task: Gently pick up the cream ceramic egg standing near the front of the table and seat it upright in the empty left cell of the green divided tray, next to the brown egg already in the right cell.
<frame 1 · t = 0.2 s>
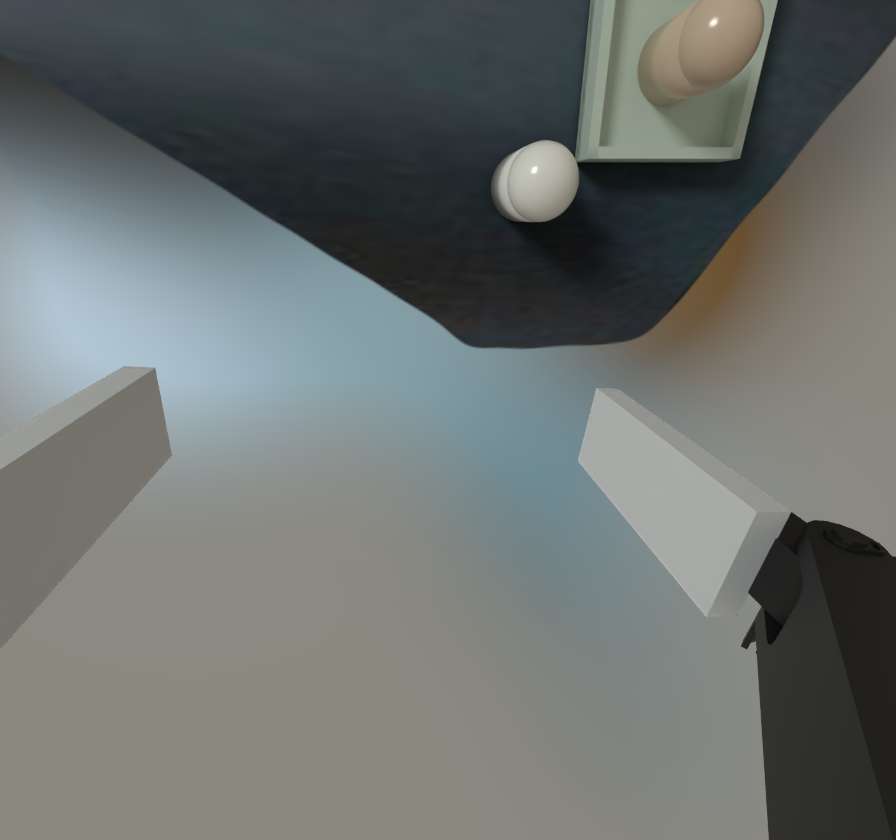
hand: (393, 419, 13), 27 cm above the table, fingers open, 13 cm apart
egg brown: (669, 65, 33), point 1 cm above the table, touching green divided tray
egg white: (521, 187, 36), on the table
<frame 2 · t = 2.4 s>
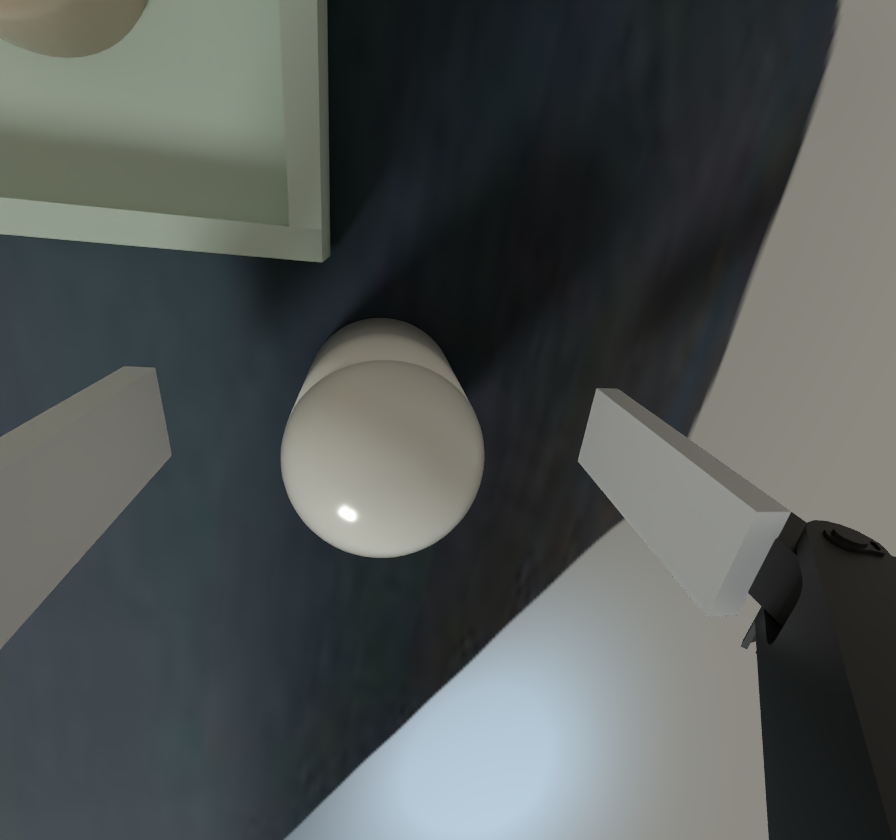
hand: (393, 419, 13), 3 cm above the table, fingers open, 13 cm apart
egg white: (382, 388, 16), on the table
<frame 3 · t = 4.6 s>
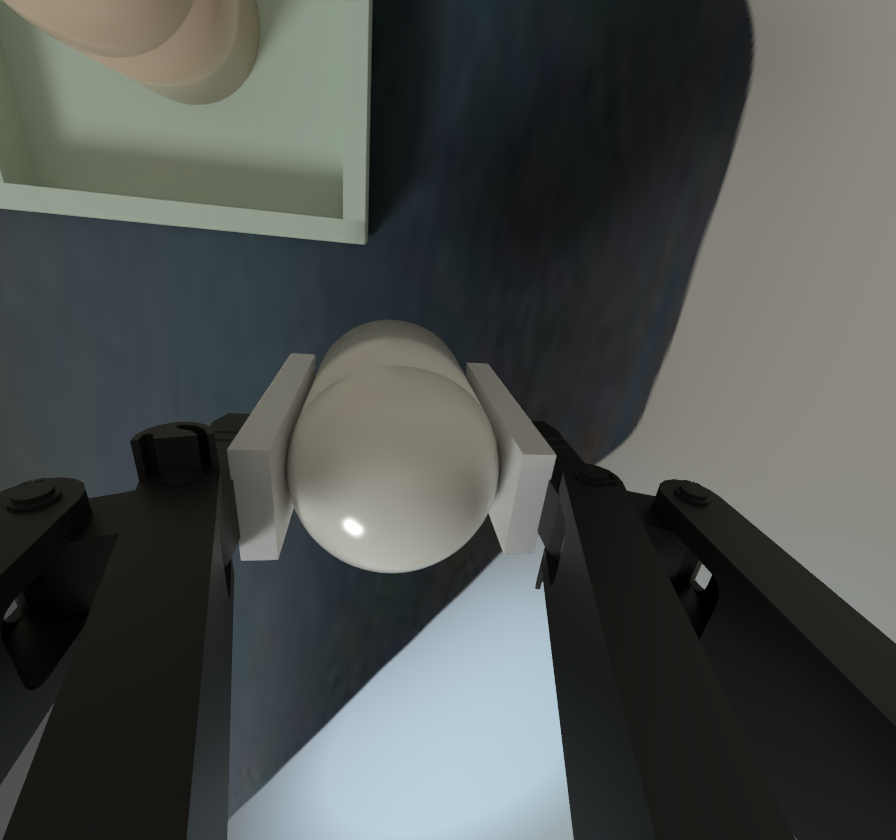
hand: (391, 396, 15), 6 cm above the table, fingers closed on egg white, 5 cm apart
egg brown: (176, 8, 14), point 1 cm above the table, touching green divided tray
egg white: (391, 392, 15), point 6 cm above the table, touching gripper
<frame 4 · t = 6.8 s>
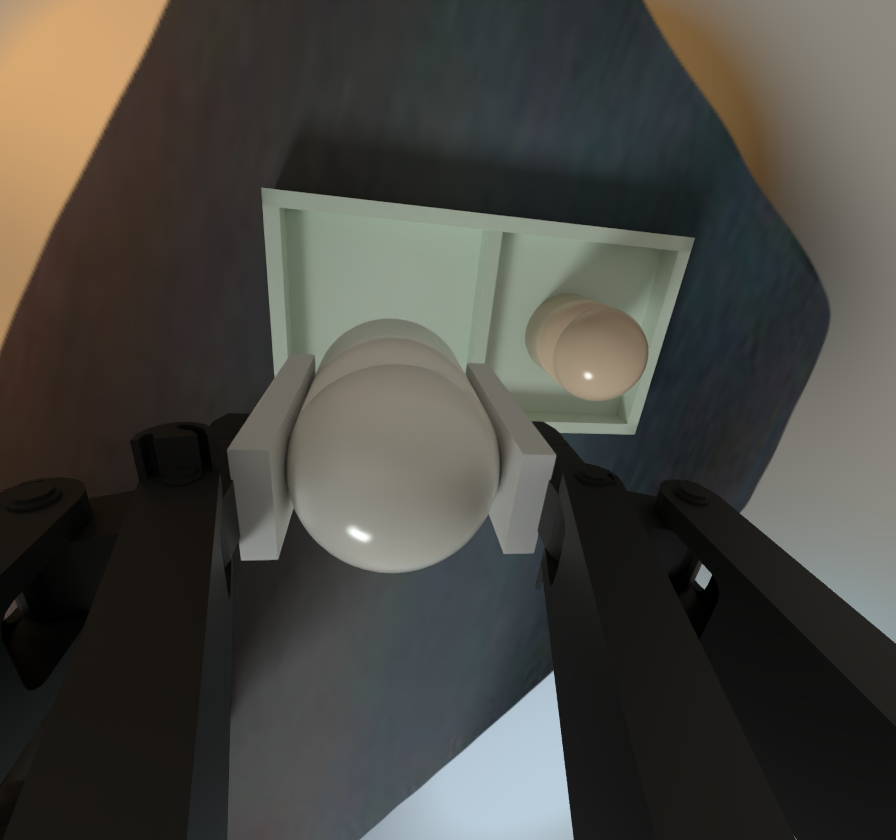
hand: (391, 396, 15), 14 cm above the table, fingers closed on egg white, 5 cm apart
egg brown: (562, 333, 28), point 1 cm above the table, touching green divided tray
green divided tray: (474, 325, 28), on the table
egg white: (391, 391, 15), point 13 cm above the table, touching gripper
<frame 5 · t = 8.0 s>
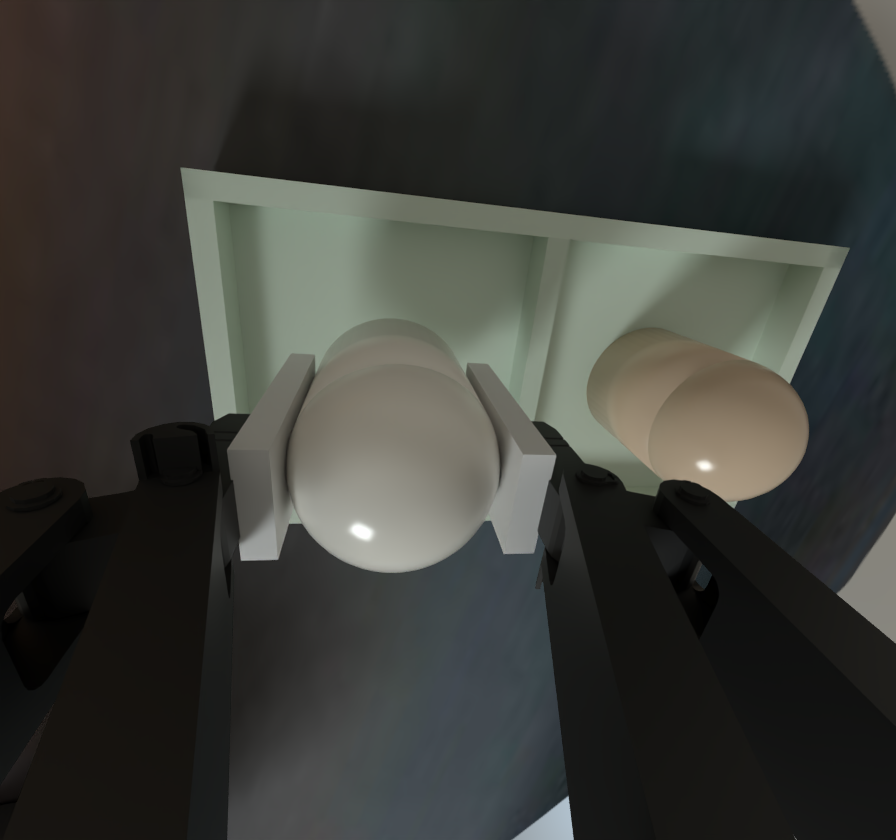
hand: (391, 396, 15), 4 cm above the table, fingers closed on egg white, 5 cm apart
egg brown: (639, 382, 20), point 1 cm above the table, touching green divided tray
green divided tray: (513, 371, 20), on the table
egg white: (391, 391, 15), point 4 cm above the table, touching gripper
when the fingers open (2 cm above the table, at t = 9.1 s): egg white stays where it is, resting on green divided tray.
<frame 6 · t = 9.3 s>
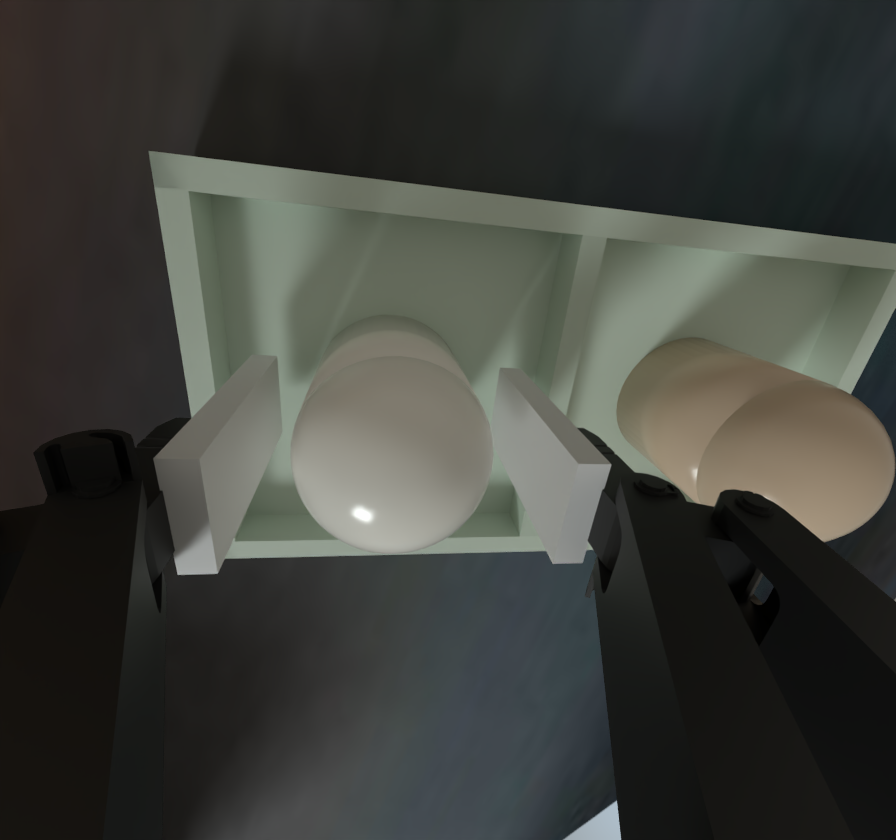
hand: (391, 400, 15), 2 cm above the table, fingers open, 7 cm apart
egg brown: (675, 398, 18), point 1 cm above the table, touching green divided tray
green divided tray: (535, 386, 18), on the table
egg white: (390, 385, 16), point 1 cm above the table, touching green divided tray
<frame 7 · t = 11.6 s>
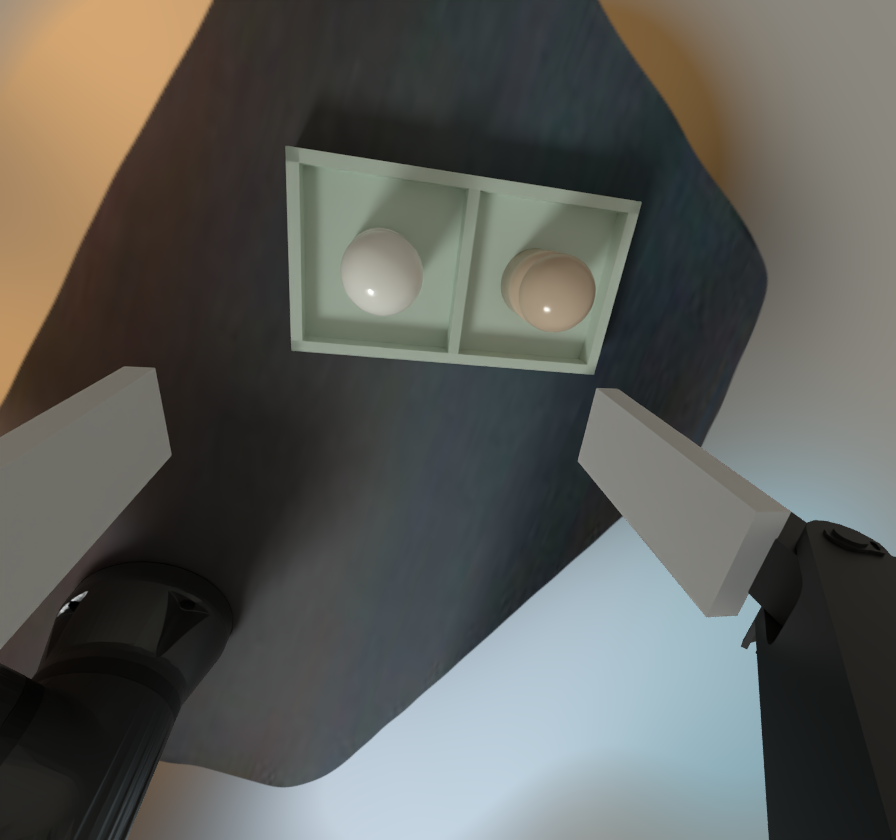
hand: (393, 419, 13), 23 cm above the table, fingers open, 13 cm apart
egg brown: (532, 283, 34), point 1 cm above the table, touching green divided tray
green divided tray: (458, 273, 33), on the table
egg white: (381, 265, 32), point 1 cm above the table, touching green divided tray
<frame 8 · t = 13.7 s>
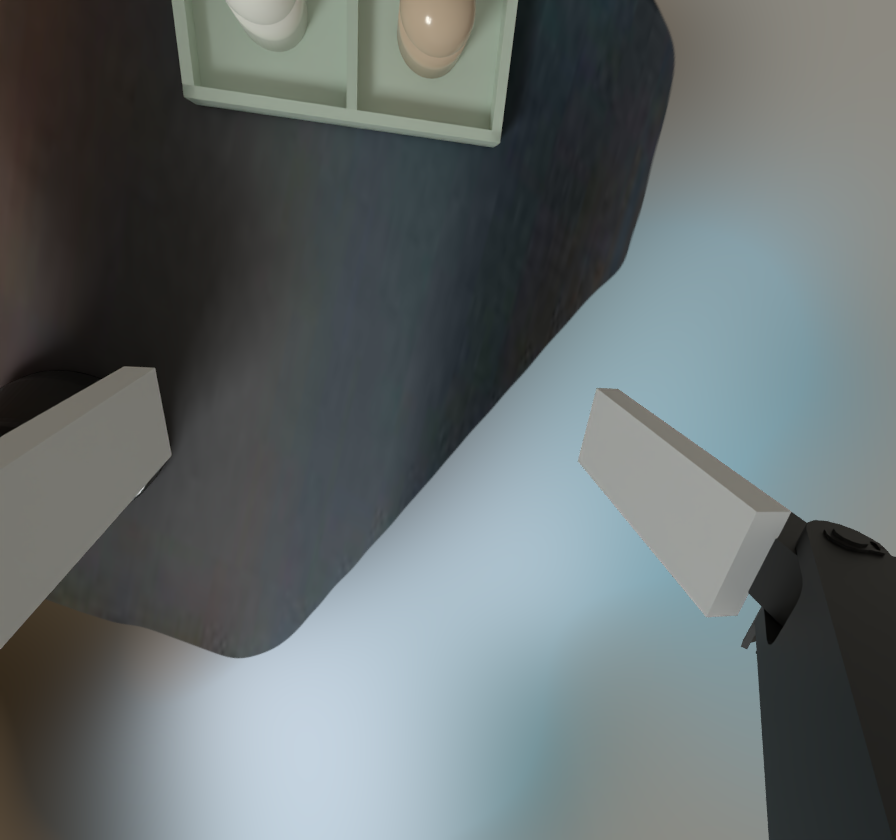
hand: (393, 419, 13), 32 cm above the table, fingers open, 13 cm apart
egg brown: (430, 37, 34), point 1 cm above the table, touching green divided tray
green divided tray: (354, 27, 33), on the table
egg white: (271, 7, 32), point 1 cm above the table, touching green divided tray
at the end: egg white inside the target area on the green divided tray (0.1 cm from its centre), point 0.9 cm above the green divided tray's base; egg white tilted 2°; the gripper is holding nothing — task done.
